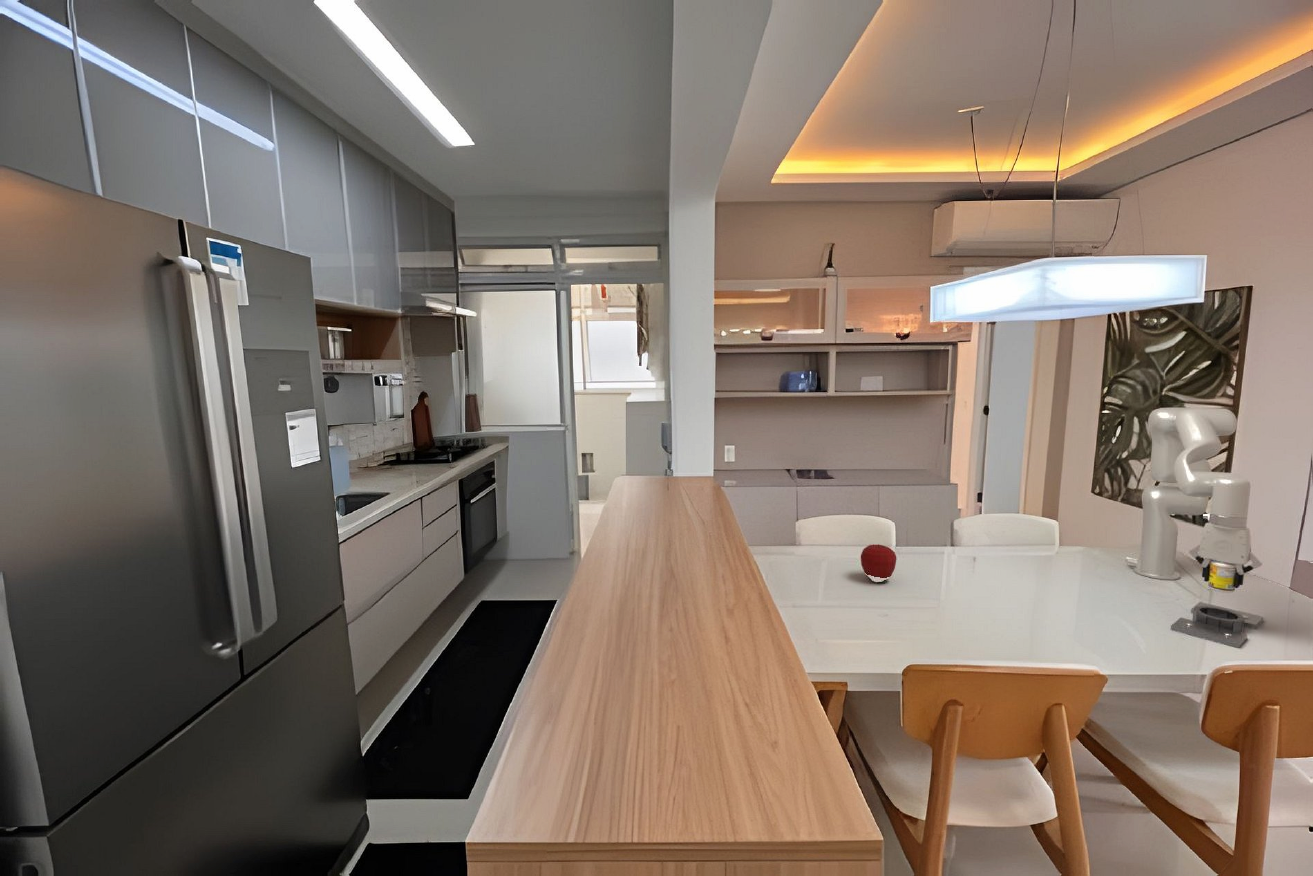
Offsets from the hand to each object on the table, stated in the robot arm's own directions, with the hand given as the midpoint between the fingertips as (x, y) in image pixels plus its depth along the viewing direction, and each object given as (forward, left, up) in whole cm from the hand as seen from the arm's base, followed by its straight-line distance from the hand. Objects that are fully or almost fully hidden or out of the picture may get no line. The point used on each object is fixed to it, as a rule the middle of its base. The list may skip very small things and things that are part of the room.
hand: (1221, 583), depth 170 cm
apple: (-80, -44, -13) cm, 92 cm away
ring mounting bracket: (0, 0, -13) cm, 13 cm away
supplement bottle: (0, 0, -2) cm, 2 cm away
